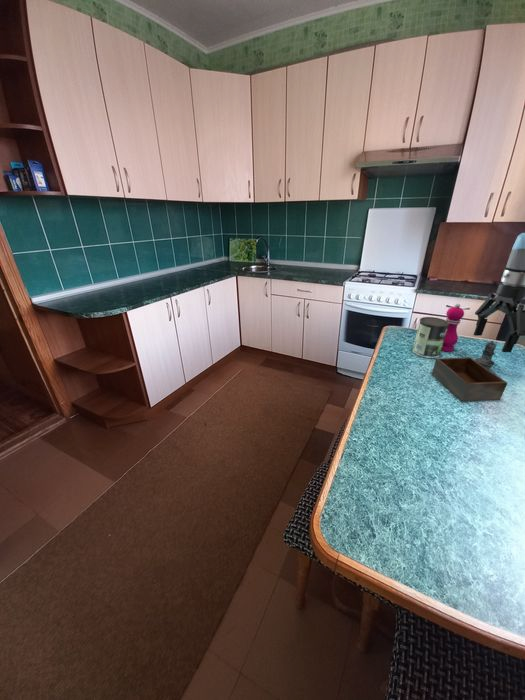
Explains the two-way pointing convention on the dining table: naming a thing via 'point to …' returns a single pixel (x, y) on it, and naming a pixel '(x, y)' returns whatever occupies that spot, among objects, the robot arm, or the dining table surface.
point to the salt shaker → (487, 356)
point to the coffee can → (430, 337)
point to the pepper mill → (452, 327)
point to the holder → (468, 379)
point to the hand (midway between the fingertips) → (490, 343)
